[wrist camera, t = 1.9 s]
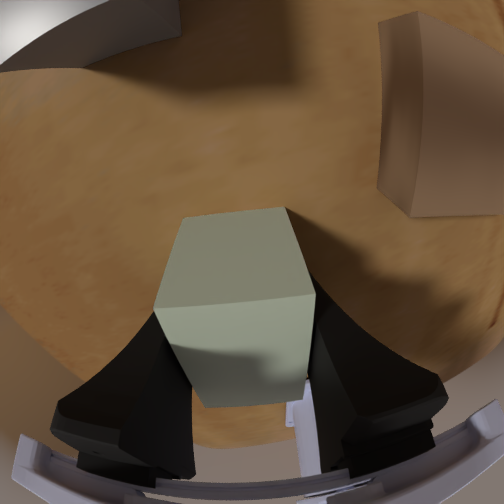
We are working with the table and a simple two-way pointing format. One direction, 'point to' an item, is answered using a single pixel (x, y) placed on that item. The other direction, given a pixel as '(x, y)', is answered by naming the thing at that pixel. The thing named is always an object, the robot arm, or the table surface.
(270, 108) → the table surface
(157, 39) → the charcoal brick
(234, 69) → the table surface
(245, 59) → the table surface
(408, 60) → the walnut block
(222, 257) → the sage brick
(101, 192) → the table surface
